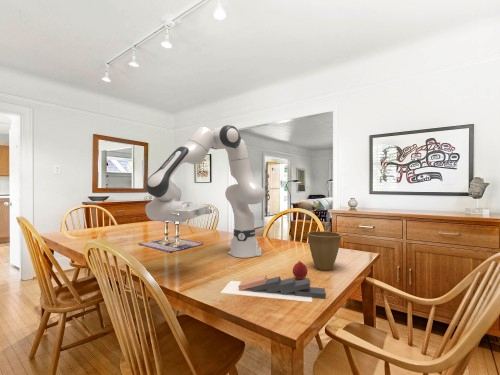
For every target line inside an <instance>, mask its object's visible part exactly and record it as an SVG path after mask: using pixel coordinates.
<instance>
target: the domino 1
mask: <svg viewBox="0 0 500 375" xmlns="http://www.w3.org/2000/svg"><path fill="white" fill-rule="evenodd" d="M280 282H281V276H280V275H279V276H275V277H271V278H267V281H266V283H265V284H263V285H259V286H255V287H252V290H253V292H254V291H258V290H263V289H267V288H271V287H276V286H279V285H280Z"/></svg>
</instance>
